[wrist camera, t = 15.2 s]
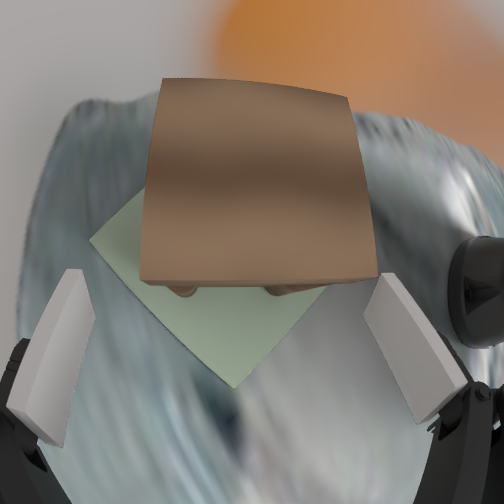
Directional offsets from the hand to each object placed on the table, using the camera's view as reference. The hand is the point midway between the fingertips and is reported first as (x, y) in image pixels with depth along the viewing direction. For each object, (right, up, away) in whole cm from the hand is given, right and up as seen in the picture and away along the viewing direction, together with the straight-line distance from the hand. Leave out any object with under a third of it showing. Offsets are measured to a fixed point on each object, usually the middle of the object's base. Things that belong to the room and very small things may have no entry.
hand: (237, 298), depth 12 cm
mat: (-1, +3, +14) cm, 14 cm away
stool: (-1, +3, +13) cm, 14 cm away
